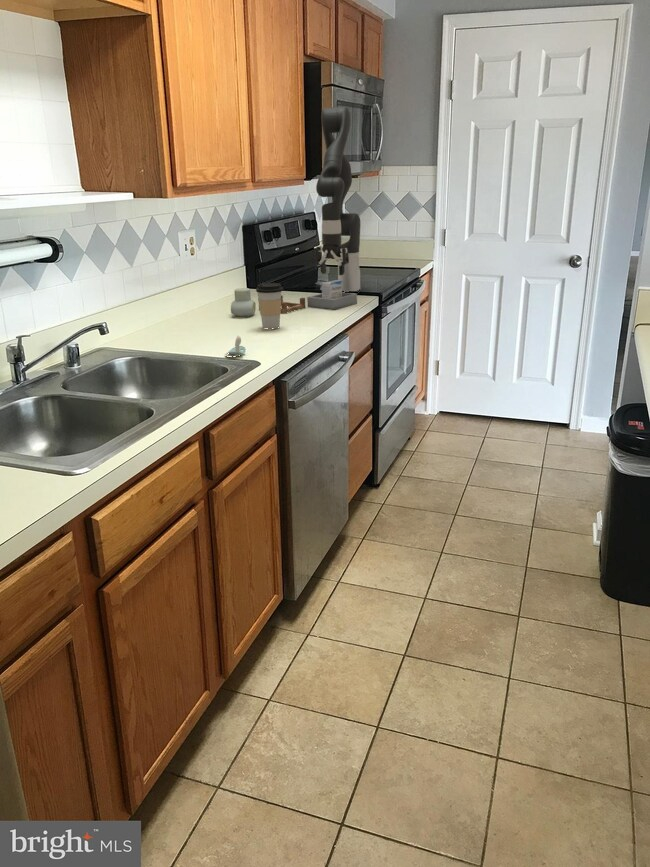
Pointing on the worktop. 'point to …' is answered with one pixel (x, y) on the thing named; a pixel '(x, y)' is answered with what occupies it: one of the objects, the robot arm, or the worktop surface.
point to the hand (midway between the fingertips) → (332, 274)
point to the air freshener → (243, 303)
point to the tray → (332, 301)
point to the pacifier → (237, 348)
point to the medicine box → (332, 289)
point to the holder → (291, 305)
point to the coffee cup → (270, 304)
